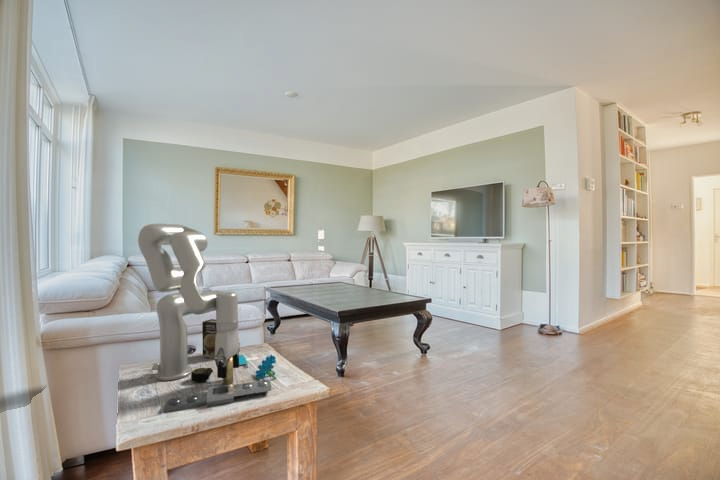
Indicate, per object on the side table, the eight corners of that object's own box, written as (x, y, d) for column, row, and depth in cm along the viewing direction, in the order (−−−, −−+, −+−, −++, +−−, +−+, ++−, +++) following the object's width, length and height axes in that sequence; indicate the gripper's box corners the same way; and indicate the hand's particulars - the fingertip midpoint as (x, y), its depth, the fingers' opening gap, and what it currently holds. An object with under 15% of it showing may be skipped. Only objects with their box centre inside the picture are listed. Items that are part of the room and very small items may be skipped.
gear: (252, 369, 136) (270, 349, 138) (262, 377, 138) (280, 358, 141) (256, 383, 126) (276, 362, 128) (268, 392, 128) (287, 370, 131)
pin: (220, 384, 126) (220, 357, 126) (225, 380, 130) (225, 353, 130) (230, 384, 126) (229, 357, 126) (234, 380, 129) (234, 354, 129)
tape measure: (208, 383, 128) (208, 373, 128) (188, 384, 127) (188, 374, 127) (213, 376, 135) (212, 366, 135) (194, 377, 134) (194, 367, 134)
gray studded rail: (163, 414, 105) (163, 402, 105) (168, 402, 113) (167, 391, 113) (271, 396, 116) (271, 385, 116) (269, 386, 124) (269, 376, 124)
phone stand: (262, 366, 145) (262, 362, 145) (232, 372, 139) (232, 368, 139) (253, 353, 163) (252, 349, 163) (226, 357, 157) (226, 354, 157)
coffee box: (201, 357, 155) (201, 321, 155) (211, 353, 162) (210, 318, 162) (219, 359, 153) (219, 322, 153) (228, 354, 160) (228, 319, 160)
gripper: (228, 320, 137) (230, 364, 137) (205, 332, 119) (206, 381, 119) (247, 320, 136) (248, 364, 136) (225, 332, 119) (227, 382, 119)
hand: (228, 372), depth 128 cm, fingers open, 9 cm apart
